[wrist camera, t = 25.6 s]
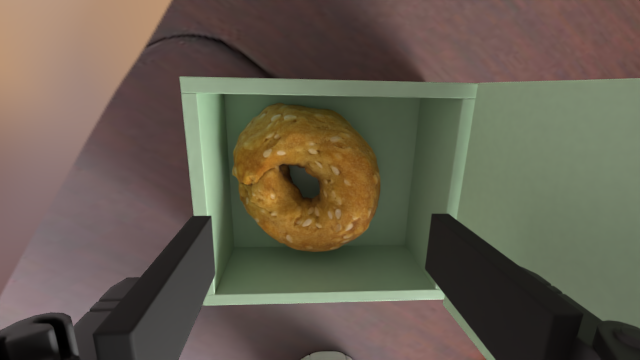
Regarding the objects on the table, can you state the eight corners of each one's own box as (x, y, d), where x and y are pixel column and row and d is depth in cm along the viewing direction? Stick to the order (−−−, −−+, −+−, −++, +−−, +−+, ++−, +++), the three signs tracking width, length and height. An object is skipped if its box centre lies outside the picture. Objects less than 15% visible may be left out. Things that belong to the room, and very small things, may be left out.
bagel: (323, 70, 21) (330, 64, 17) (395, 195, 24) (417, 220, 20) (206, 145, 22) (183, 159, 18) (289, 257, 25) (287, 294, 21)
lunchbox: (227, 251, 26) (202, 306, 19) (214, 80, 22) (178, 76, 15) (409, 248, 27) (445, 299, 20) (428, 84, 23) (479, 83, 16)
